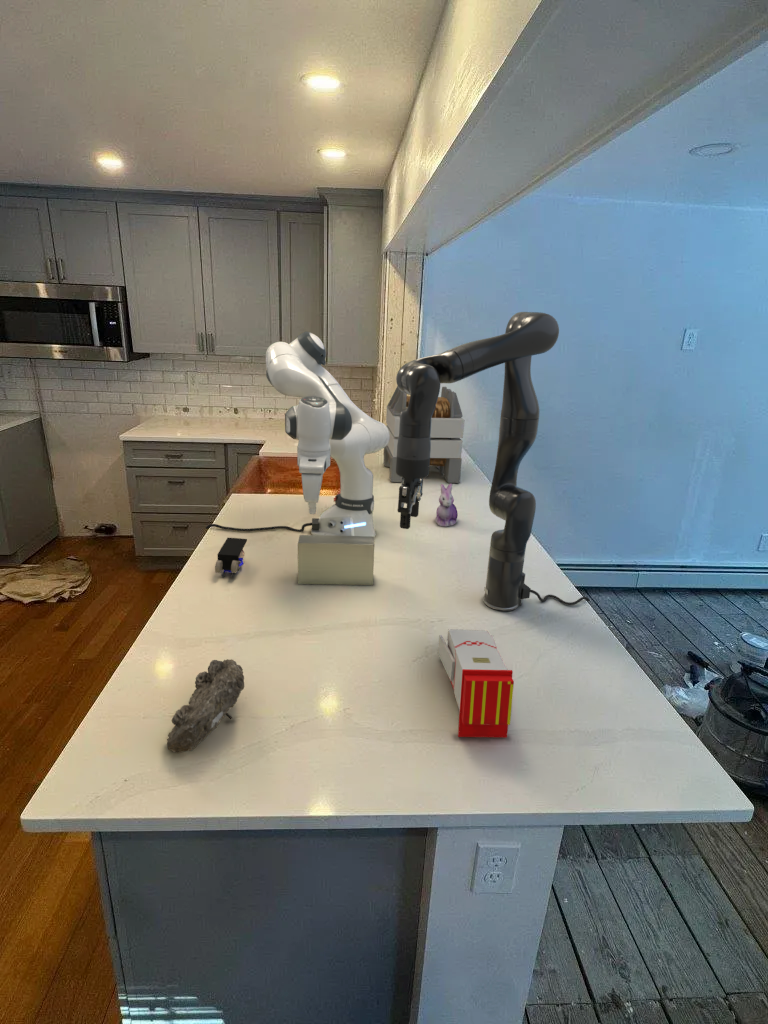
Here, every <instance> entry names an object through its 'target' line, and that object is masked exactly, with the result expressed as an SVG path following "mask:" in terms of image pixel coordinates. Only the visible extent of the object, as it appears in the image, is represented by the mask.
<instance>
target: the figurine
mask: <svg viewBox="0 0 768 1024" xmlns="http://www.w3.org/2000/svg"><path fill="white" fill-rule="evenodd" d="M452 489H453V483H449V484H448V485H447V487H445V485H444V484H443V483H441V484H440V494H439V497H438V503H439V506H438V507H437V508H436V513H435V515H436V517H435V521H434V522H435V523H436V524H437V526H440V527H450V526H454V525H455V524H457V520H458V517H459V516H458V514H459V513H458V510H457V507H456V505H455V504H454V502H455V498H454V495H453V493H452Z"/></svg>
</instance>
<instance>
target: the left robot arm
mask: <svg viewBox="0 0 768 1024" xmlns="http://www.w3.org/2000/svg"><path fill="white" fill-rule="evenodd" d="M326 357H327V350H326V347H325V345H324V343H323V341H322V340H321V338H320V337H318V336H317V335H316V334H314V333H313V332H311V331H304V332H301V333H300V334H299V335H297V337H296V338H295V339H294V340H292V341H291V342H290V343H288V342H285V341H276V342H273V343H271V344H270V345H269V346H268V347H267V349H266V351H265V369H266V371H265V376H266V379H267V381H268V382H269V384H270V385H271V386H272V387H273V388H274V389H275V390H276V391H277V392H278V393H279V394H281V395H283V396H287V397H294V398H300V399H299V401H298V404H297V405H292V406H290V407H289V408H288V409H287V411H286V412H285V413H284V431H285V432H284V433H286V435H287V436H288V437H290V438H291V439H292V440H296V441H298V443H297V447H296V452H297V453H296V456H297V457H296V458H297V459H296V461H297V462H296V463H297V467H298V473H299V474H301V486H302V495H303V500H304V503H307V504H308V514H309V515H316V513H317V503H319V499H320V494H321V489H322V484H323V476H324V474H325V473H326V470H327V469H328V468H329V467H331V458H332V459H333V460H334V462H335V463H336V465H337V468H338V470H339V476H340V477H339V478H340V480H339V481H340V484H339V485H340V488H339V489H340V490H339V491H338V492H337V494H336V495H335V496H334V497H333V502H334V504H333V505H331V506H329V507H328V508H326V509H325V510H323V512H321V514H320V515H319V517H315V518H314V517H313V518H311V522H307V523H303V524H302V525H301V528H299V529H297V528H294V527H290V526H287V525H275V526H266V527H265V526H263V527H251V528H241V527H231V526H223V525H220V524H217V523H210V524H208V525H206V526H205V528H204V529H206V530H208V529H210V528H213V527H214V528H217V529H221V530H226V531H233V532H259V531H260V532H261V531H269V530H288V531H291V532H296V533H302V532H304V530H305V527H310V526H311V530H310V533H311V534H310V535H330V536H372V537H374V538H375V537H376V535H377V532H376V528H375V523H374V513H373V512H374V509H375V496H374V473H373V471H372V470H371V469H369V468H368V467H366V464H365V456H368V455H372V454H375V453H378V452H380V451H381V450H384V448H385V447H386V446H387V444H388V443H389V438H390V435H389V431H388V428H387V427H386V426H387V424H385V423H384V422H383V421H378V420H376V419H375V418H373V417H371V416H370V415H368V414H367V413H366V412H364V411H363V410H362V409H361V408H359V406H357V405H356V404H355V402H353V401H352V399H351V398H350V397H349V396H348V394H347V393H346V391H345V390H344V389H343V387H342V386H341V384H340V383H339V382H338V380H337V379H336V378H335V377H334V376H333V375H332V374H331V373H330V372H329V371H328V370H327V369H326V368H325V367H323V366H326V364H327V362H326V361H327V360H326Z"/></svg>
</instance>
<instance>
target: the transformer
mask: <svg viewBox="0 0 768 1024" xmlns="http://www.w3.org/2000/svg"><path fill="white" fill-rule="evenodd" d="M440 393H441V394H440V396H438V399H437V403H436V406H435V409H434V412H433V415H432V418H431V435H430V440H431V451H430V465H429V467H436V468H437V470H438V469H439V473H440V474H441V475H443V478H444V479H445V481H446V482H447V483H449V484H450V483H452V484H455V483H456V484H459V483H461V472H462V461H463V460H462V453H463V442H464V441H463V440H462V439H463V438H464V431H465V430H464V429H465V419H464V418H463V411H462V408H461V405H460V402H459V398H458V395H457V392H455V391H453V390H452V389H451V388H447V386H442V387H441V392H440ZM409 401H410V395H408V394H406V393H404V392H402V391H401V390H400V389H399V387H398V385H397V386H396V388H395V390H394V392H393V394H392V395H391V398H390V400H389V402H388V404H387V405H386V413H385V414H386V415H385V423H386V427H387V428H388V431H389V435H390V438H389V443H388V444H387V446H386V447H385V448H383V466H384V467H388V468H389V475H388V476H389V477H388V478H389V480H390V482H391V483H402V482H403V477H400V476H398V475H397V474H396V460H397V443H398V438H399V424H400V414H401V411H402V410H403V409H404V408H406V407H408V405H409Z"/></svg>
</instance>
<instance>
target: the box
mask: <svg viewBox="0 0 768 1024" xmlns="http://www.w3.org/2000/svg"><path fill="white" fill-rule="evenodd" d="M374 565H375V537H372V536H330V535H312V534H299V536H298V541H297V585H298V584H299V585H343V586H344V585H347V586H351V585H352V586H353V585H354V586H373V585H374Z"/></svg>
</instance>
